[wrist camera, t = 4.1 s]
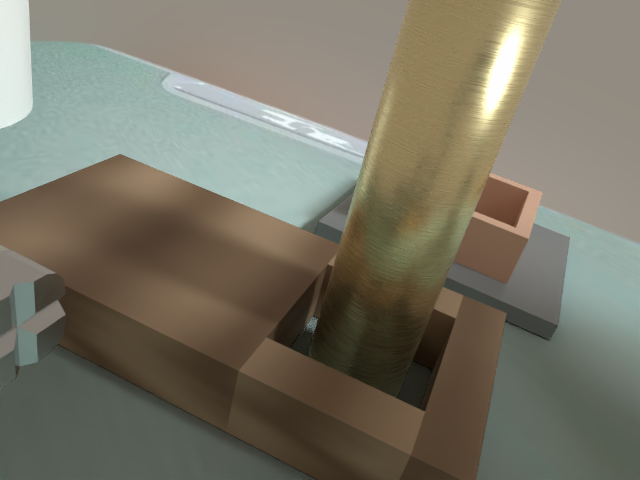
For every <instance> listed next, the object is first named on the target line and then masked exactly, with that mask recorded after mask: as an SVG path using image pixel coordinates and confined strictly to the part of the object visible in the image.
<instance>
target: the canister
mask: <svg viewBox="0 0 640 480" xmlns="http://www.w3.org/2000/svg"><path fill="white" fill-rule="evenodd" d="M29 26H30V25H29V0H0V129H1V128H4V127H7V126H9V125H12V124H14V123H16V122H18V121H20V120H22V119H23V118H25V117H26V116H27V115H28V114H29V113H30V111H31V110H32V107H33V100H32V75H31V50H30V27H29Z"/></svg>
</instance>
